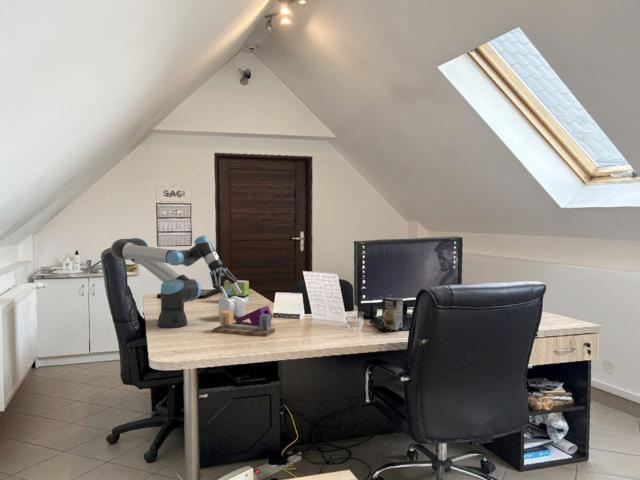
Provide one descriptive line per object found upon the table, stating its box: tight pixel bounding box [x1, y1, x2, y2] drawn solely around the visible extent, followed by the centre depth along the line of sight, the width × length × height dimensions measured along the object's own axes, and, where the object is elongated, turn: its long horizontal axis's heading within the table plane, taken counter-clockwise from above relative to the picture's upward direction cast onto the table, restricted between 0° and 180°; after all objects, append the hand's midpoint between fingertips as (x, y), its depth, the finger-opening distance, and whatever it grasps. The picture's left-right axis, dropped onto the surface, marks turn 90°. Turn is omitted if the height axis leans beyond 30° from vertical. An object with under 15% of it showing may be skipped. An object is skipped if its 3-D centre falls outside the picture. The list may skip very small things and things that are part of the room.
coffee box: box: [381, 296, 404, 330], centre depth 253 cm, size 9×6×16 cm
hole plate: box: [211, 325, 276, 337], centre depth 243 cm, size 29×11×2 cm, turn 74°
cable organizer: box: [218, 296, 246, 318], centre depth 278 cm, size 15×11×12 cm
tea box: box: [223, 279, 250, 303], centre depth 334 cm, size 15×10×15 cm
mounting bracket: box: [234, 305, 273, 326], centre depth 262 cm, size 10×9×19 cm
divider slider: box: [219, 311, 234, 328], centre depth 246 cm, size 5×6×7 cm
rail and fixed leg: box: [220, 313, 272, 331], centre depth 243 cm, size 26×6×8 cm, turn 74°
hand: (232, 295), depth 260 cm, fingers open, 13 cm apart
